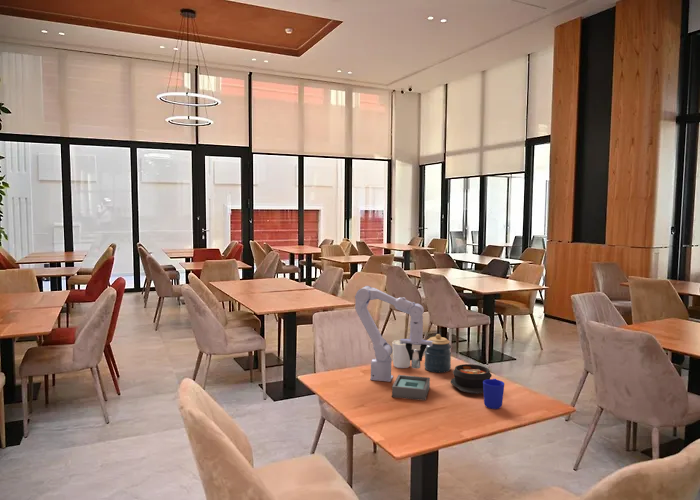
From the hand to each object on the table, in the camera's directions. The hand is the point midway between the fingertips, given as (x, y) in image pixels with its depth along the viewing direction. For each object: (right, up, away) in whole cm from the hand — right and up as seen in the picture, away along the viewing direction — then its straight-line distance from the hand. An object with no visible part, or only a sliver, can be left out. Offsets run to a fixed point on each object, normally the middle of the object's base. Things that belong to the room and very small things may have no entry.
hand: (415, 360), depth 229 cm
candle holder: (-4, -9, +25) cm, 27 cm away
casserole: (+24, -11, -5) cm, 27 cm away
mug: (+28, -13, -26) cm, 40 cm away
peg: (0, -3, 0) cm, 3 cm away
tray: (-4, -11, -12) cm, 17 cm away
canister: (+13, -9, +20) cm, 26 cm away
